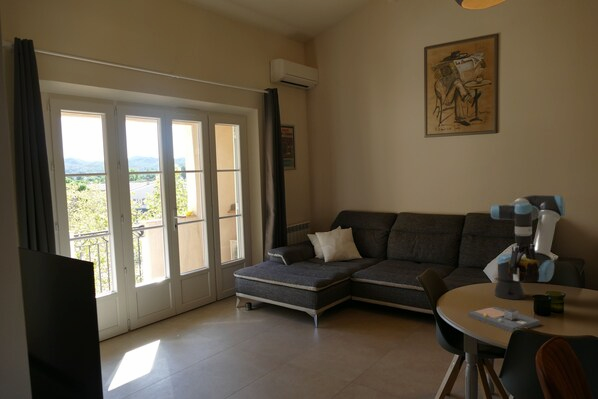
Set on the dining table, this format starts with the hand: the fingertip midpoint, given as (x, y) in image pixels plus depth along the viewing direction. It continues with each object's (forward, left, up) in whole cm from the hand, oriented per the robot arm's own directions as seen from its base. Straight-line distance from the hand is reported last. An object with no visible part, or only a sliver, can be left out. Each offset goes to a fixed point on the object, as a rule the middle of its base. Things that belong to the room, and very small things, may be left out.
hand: (523, 279), depth 210 cm
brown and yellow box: (0, 0, -1) cm, 1 cm away
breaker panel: (+4, -21, -16) cm, 26 cm away
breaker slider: (+9, -21, -13) cm, 26 cm away
